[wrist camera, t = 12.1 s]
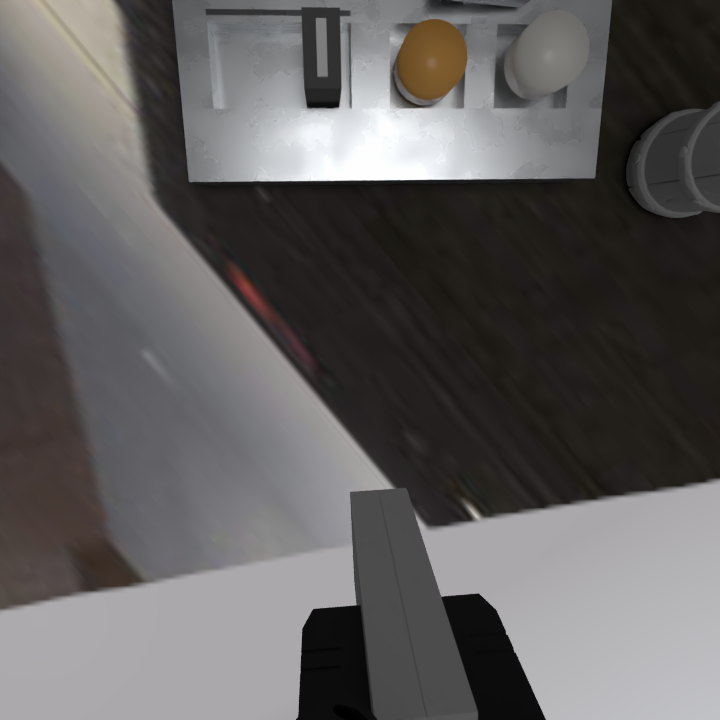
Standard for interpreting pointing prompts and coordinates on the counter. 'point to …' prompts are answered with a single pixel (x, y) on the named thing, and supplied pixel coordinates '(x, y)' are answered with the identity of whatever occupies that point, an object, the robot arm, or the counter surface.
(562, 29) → the cream button
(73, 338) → the counter surface
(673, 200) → the mug
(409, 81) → the orange button
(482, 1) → the block
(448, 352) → the counter surface
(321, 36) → the slider knob
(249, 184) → the panel
